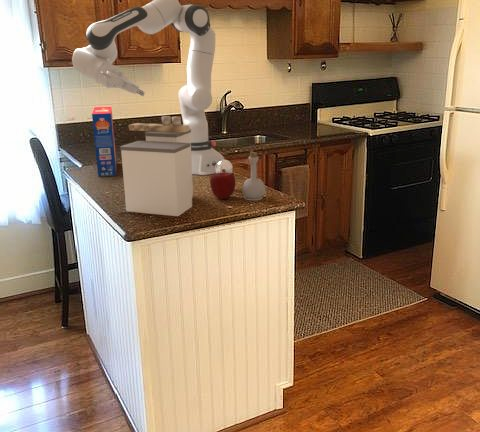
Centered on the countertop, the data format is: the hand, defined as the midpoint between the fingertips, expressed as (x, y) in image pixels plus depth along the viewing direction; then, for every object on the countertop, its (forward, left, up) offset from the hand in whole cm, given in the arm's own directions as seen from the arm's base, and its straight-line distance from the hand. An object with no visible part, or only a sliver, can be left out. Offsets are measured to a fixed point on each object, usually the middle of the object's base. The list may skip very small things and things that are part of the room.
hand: (140, 92), depth 202 cm
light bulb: (-28, +16, -38) cm, 50 cm away
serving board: (-1, +18, -12) cm, 22 cm away
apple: (-22, +28, -38) cm, 52 cm away
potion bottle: (-32, +34, -38) cm, 60 cm away
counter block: (0, +26, -38) cm, 46 cm away
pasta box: (+6, -44, -39) cm, 59 cm away
